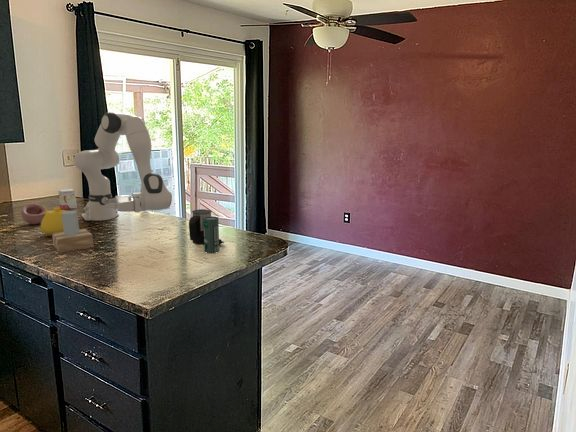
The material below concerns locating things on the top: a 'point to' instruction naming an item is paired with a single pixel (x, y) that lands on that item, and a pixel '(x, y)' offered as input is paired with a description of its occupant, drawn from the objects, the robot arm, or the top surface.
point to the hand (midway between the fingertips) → (105, 203)
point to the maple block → (72, 241)
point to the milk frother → (199, 226)
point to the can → (211, 234)
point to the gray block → (70, 223)
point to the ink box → (67, 199)
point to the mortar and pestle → (33, 213)
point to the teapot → (52, 221)
